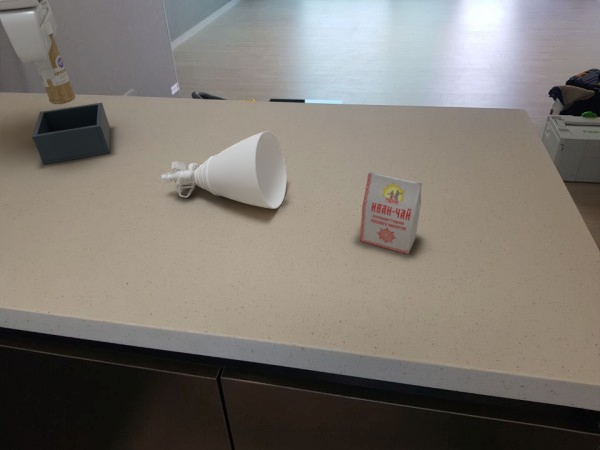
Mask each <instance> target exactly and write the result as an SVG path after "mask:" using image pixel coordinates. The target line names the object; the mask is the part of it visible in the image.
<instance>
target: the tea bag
mask: <svg viewBox="0 0 600 450" xmlns="http://www.w3.org/2000/svg"><path fill="white" fill-rule="evenodd" d="M422 185H423V184H422V183H421V182H417V181H413V180H409V179H404V178H399V177H393V176H389V175H384V174H381V173H380V174H379V173H375V172H371V171H369V172H368V173H367V180H366V185H365V191H364V195H363V201H362V208H361V220H360V221H361V222H360V237H359V238H360V239H359V241H360V242H362V243H365V244H369V245H373V246H377V247H379V248H384V249H387V250H391V251H395V252H398V253H401V254H402V253H403V254H405V255H409V253H410V251H411V250H412V247H413V245H414V242H415V240H416V238H417V231H418V224H419V219H420V212H421V206H422Z"/></svg>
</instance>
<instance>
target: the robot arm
mask: <svg viewBox="0 0 600 450" xmlns="http://www.w3.org/2000/svg"><path fill="white" fill-rule="evenodd" d="M46 20H47V21H49V23H50V25H51V28H52V31H53V33H52V34H53V37H54V39H55V37H56V35H57V33H58V25H57V22H56V19H55V16H54V14H53V11H52V8H51V6H50V3H49V0H0V23H1V25H2V27H3V29H4V31H5V33H6V36H7V38H8V40H9V42H10V44H11V46H12V47H13V50H14V52H15V53H16V55H17V57H18V58H19V59H20V61H21V62H22V63H24V64H31V63H32V64H33V63H34V64H35V63H36V64H37V66H38V67H39V68H40V70H41V72H42V75H43V77H44V79H46V80H48V79H54V78H55V75H56V73H55V71H54V68H53V66H52V65H51V62H50V60H49V55H48V53H49V51H50V48H51V46H52V42H51V39H50V36H49V35H48V32H47V29H46V27H45V22H46Z"/></svg>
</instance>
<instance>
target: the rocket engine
mask: <svg viewBox="0 0 600 450" xmlns="http://www.w3.org/2000/svg"><path fill="white" fill-rule="evenodd" d="M171 170H174V172H172V171H171ZM171 170H170V171H169V172H167V171H164V172H163V174H161V175H160V180H161V182H162V183H164V184H165V183H173V182H174V183H177V185H178V186H177V187H176V188H177V190H176V192H177V193H178V196H179V197H180V198H185V199H187V198H189V197H190V196H191V194H192V193H193V191H194V190H195V189H196V186H197V187H198V188H202V190H206V191H208V192H209V193H211V194H212V195H214V196H221V197H224V198H226V199H230V200H232V201H237V202H239V203H242V204H246V205H250V206H255V207H259V208H265V209H274V210H276V209H278V208H279V207H280V206H281V205H282V203H283V201H284V199H285V195H286V192H287V191H286V190H287V178H288V177H287V164H286V160H285V154H284V152H283V148H282V145H281V143H280V141H279V139H278V138H277V136H276V135H275V134H274V133H273V132H272V131H269V130H264V131H261V132H258V133H256V134H253V135H251V136H249V137H246V138H244V139H242V140H240V141H238V142H236V143H234V144H233V145H230V146H229V147H227V148H225V149H224V150H222V151H220V152H218V153H216V154H215V155H211V156H209V157H208V158H207V159H206V160H205V161H204V162H203V163H201V164H200V165H199V164H198V163H197V162H191V163H189V164H188V169H186V163H184V162H182V161H177V160H176V161H171ZM183 189H189V191H188V193H187V195H183V194H182V192H183Z"/></svg>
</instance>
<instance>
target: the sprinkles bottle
mask: <svg viewBox="0 0 600 450" xmlns="http://www.w3.org/2000/svg"><path fill="white" fill-rule="evenodd" d="M45 27H46V29H47V32H48V35H49V36H50V39H51V42H52V46H51V48H50V51H49V53H48V55H49V60H50V62H51V65H52V66H53V68H54V71H55V73H56V75H55V78H54V79H48V80H46V79H44V77H43V75H42V72H41V70H40V68H39V67H38V66H37V64H36V63H35V62H34V65H35V68H36V70H37V73H38V75H39V78H40V80H41V83H42V85H43V87H44V89H45V93H46V94H47V97H48V102H49V103H50V104H53V105H65V104H68V103H71V102H72V101H75V99H76V94H75V93H74V90H73V87H72V85H71V82H70V78H69V75H68V72H67V69H66V66H65V64H64V62H63V59H62V56H61V54H60V51H59V49H58V45H57V42H56V39H55V38H54V37H53V34H52V33H53V31H52V28H51V25H50V23H49V21H47V20H46V22H45Z"/></svg>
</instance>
